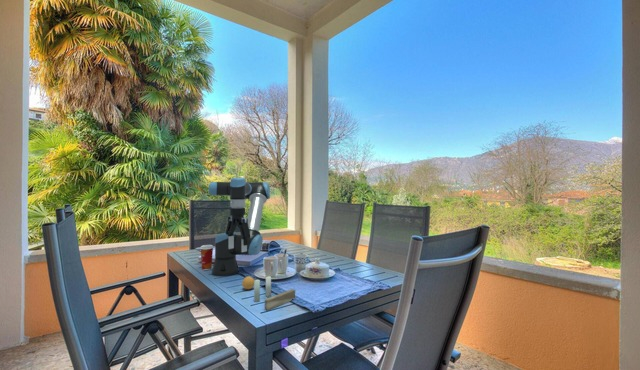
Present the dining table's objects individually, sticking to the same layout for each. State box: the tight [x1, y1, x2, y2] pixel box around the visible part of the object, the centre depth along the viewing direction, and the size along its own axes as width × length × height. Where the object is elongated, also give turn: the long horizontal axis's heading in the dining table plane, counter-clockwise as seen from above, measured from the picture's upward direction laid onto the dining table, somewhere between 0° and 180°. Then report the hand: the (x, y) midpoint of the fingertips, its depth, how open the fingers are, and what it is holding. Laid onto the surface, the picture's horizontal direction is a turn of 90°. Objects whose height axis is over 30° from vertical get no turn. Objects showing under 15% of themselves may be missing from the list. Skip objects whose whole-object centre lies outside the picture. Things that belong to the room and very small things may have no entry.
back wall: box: [264, 288, 296, 311], centre depth 122 cm, size 2×16×4 cm, turn 141°
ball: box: [241, 276, 255, 290], centre depth 140 cm, size 6×6×6 cm
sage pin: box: [253, 279, 261, 303], centre depth 126 cm, size 2×2×9 cm
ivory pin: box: [265, 275, 272, 299], centre depth 131 cm, size 2×2×9 cm
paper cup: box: [199, 244, 214, 270], centre depth 175 cm, size 8×8×14 cm
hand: (237, 250), depth 146 cm, fingers open, 11 cm apart
